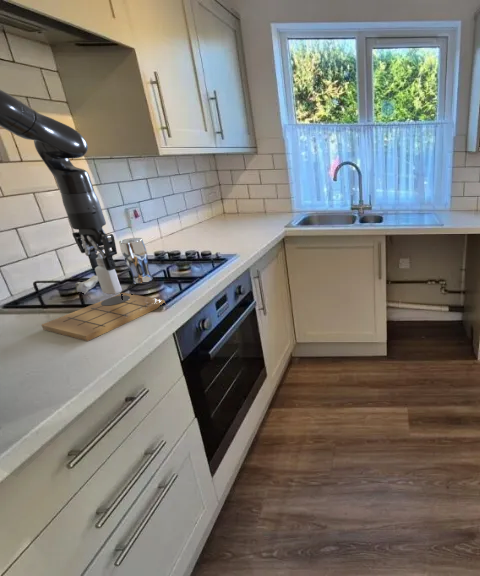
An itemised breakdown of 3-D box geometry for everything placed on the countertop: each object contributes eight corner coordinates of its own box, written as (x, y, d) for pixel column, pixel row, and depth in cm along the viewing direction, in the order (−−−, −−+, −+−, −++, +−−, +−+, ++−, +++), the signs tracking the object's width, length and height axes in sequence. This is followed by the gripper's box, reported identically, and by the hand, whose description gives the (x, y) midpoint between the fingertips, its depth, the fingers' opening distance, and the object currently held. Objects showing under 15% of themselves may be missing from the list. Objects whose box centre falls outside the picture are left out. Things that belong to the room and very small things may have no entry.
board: (87, 341, 89) (85, 335, 88) (43, 329, 95) (40, 324, 95) (165, 304, 108) (164, 299, 107) (124, 296, 114) (122, 292, 113)
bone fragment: (102, 282, 126) (99, 272, 125) (89, 294, 116) (85, 284, 115) (87, 284, 125) (83, 274, 124) (72, 296, 115) (68, 286, 114)
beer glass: (126, 284, 123) (112, 242, 118) (144, 277, 130) (132, 236, 124) (141, 286, 121) (128, 243, 116) (159, 279, 127) (147, 238, 122)
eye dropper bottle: (119, 287, 110) (107, 249, 105) (123, 292, 106) (110, 253, 101) (102, 291, 107) (88, 252, 103) (105, 296, 103) (90, 257, 99)
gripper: (51, 210, 96) (74, 270, 103) (86, 213, 91) (107, 275, 98) (81, 205, 103) (101, 262, 109) (115, 208, 98) (134, 266, 104)
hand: (104, 268), depth 104 cm, fingers closed on eye dropper bottle, 5 cm apart
